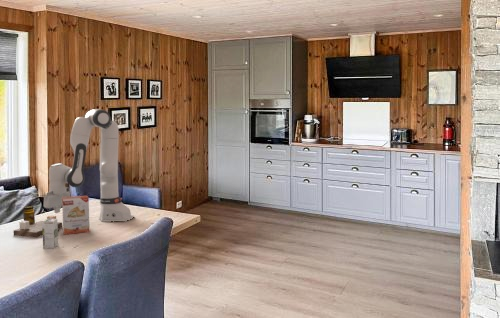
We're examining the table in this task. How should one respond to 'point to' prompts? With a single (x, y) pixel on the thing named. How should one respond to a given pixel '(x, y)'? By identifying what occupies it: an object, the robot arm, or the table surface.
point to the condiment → (29, 214)
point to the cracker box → (75, 214)
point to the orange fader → (51, 217)
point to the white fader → (24, 224)
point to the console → (33, 230)
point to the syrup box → (50, 233)
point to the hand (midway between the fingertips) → (57, 212)
